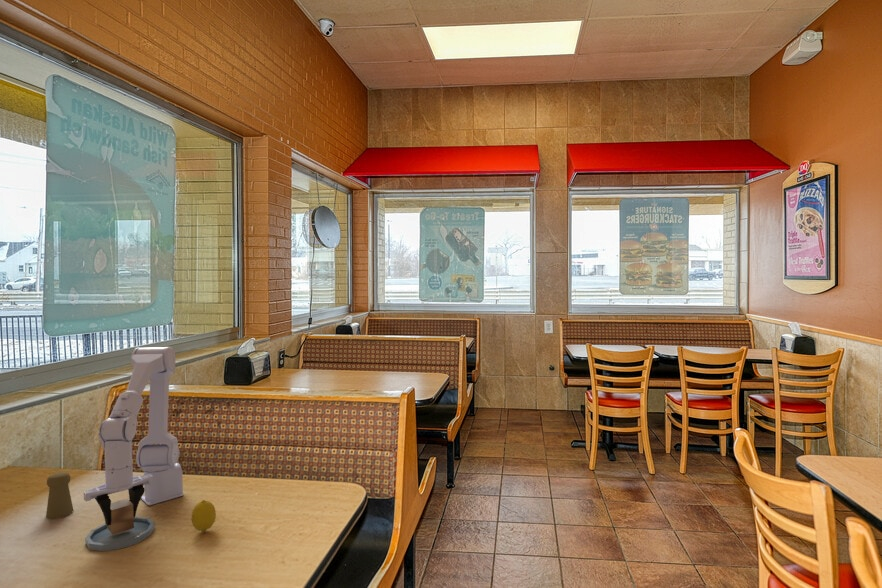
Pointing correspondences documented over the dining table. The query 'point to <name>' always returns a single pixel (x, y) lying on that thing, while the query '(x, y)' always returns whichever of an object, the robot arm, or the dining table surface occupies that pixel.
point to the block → (121, 516)
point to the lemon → (203, 515)
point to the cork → (59, 496)
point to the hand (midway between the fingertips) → (120, 520)
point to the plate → (119, 535)
